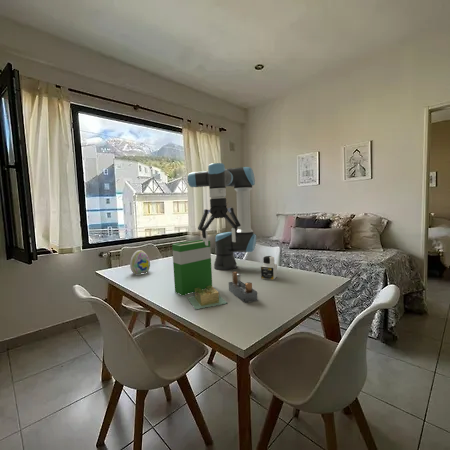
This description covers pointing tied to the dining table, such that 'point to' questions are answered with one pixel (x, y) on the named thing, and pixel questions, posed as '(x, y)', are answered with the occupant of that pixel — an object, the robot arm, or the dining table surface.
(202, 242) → the hardback book
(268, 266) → the medicine bottle
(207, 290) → the lever cap
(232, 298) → the dining table surface
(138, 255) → the decorative egg
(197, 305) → the mat
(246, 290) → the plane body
